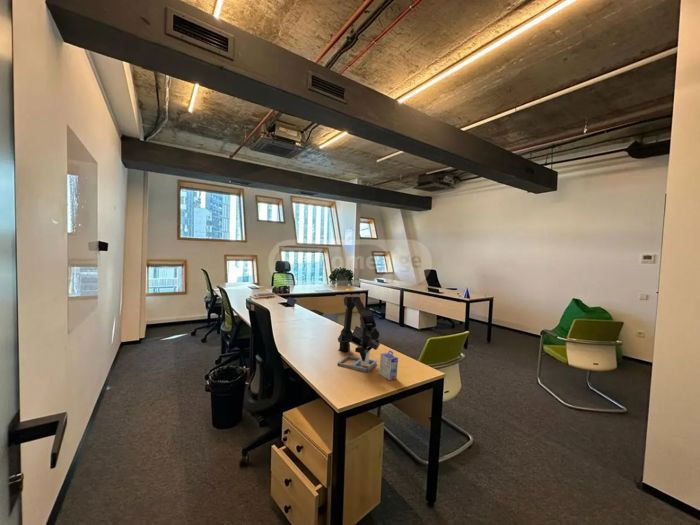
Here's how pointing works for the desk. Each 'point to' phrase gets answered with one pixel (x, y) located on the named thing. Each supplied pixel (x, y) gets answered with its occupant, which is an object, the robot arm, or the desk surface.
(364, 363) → the cord plug
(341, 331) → the robot arm
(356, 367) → the frame
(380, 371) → the ink cartridge box
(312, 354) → the desk surface
